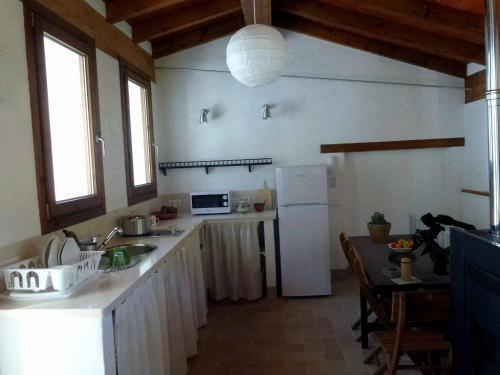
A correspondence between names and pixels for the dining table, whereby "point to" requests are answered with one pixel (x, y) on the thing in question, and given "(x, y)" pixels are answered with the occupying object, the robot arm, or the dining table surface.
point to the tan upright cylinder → (406, 269)
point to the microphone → (394, 259)
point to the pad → (400, 282)
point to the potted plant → (379, 228)
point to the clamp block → (392, 272)
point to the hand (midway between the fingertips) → (416, 253)
